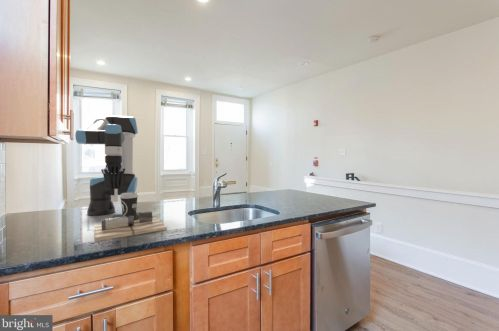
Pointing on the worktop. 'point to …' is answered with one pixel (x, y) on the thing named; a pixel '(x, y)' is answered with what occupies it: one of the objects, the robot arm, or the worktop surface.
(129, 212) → the coffee cup
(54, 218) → the worktop surface
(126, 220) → the lock bar
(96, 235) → the wooden pallet
